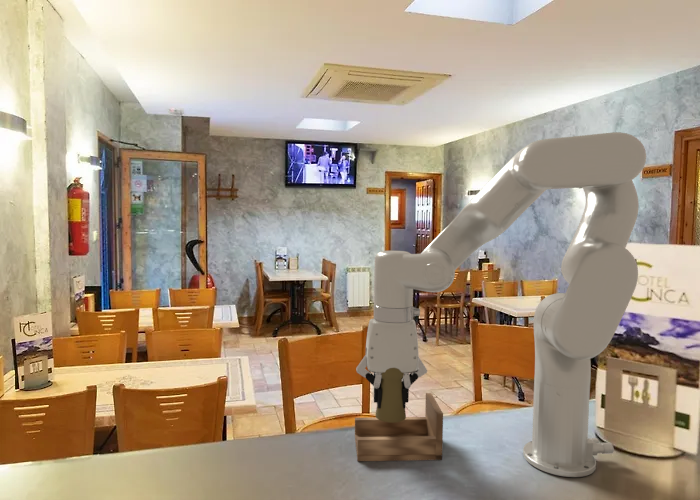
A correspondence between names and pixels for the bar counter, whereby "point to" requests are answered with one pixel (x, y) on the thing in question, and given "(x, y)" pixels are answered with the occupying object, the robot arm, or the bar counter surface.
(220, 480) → the bar counter surface
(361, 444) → the walnut drawer
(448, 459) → the bar counter surface
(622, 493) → the bar counter surface
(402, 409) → the cork
